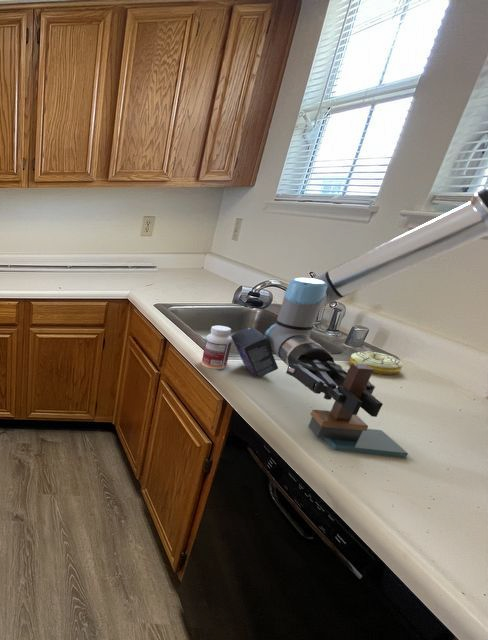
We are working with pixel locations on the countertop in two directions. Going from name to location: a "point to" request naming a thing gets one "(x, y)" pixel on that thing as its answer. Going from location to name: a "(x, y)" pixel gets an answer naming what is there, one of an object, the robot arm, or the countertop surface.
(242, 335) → the box
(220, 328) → the pill bottle
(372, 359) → the decorated donut
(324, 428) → the brush
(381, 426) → the countertop surface
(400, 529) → the countertop surface
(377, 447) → the tile
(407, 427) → the countertop surface
